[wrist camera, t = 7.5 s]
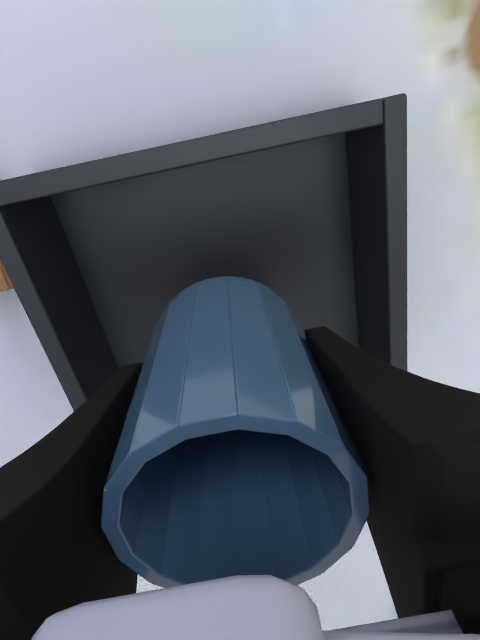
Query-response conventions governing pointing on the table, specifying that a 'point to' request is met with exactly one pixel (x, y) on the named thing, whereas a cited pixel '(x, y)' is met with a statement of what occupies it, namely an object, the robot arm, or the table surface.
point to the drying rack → (4, 279)
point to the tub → (216, 235)
